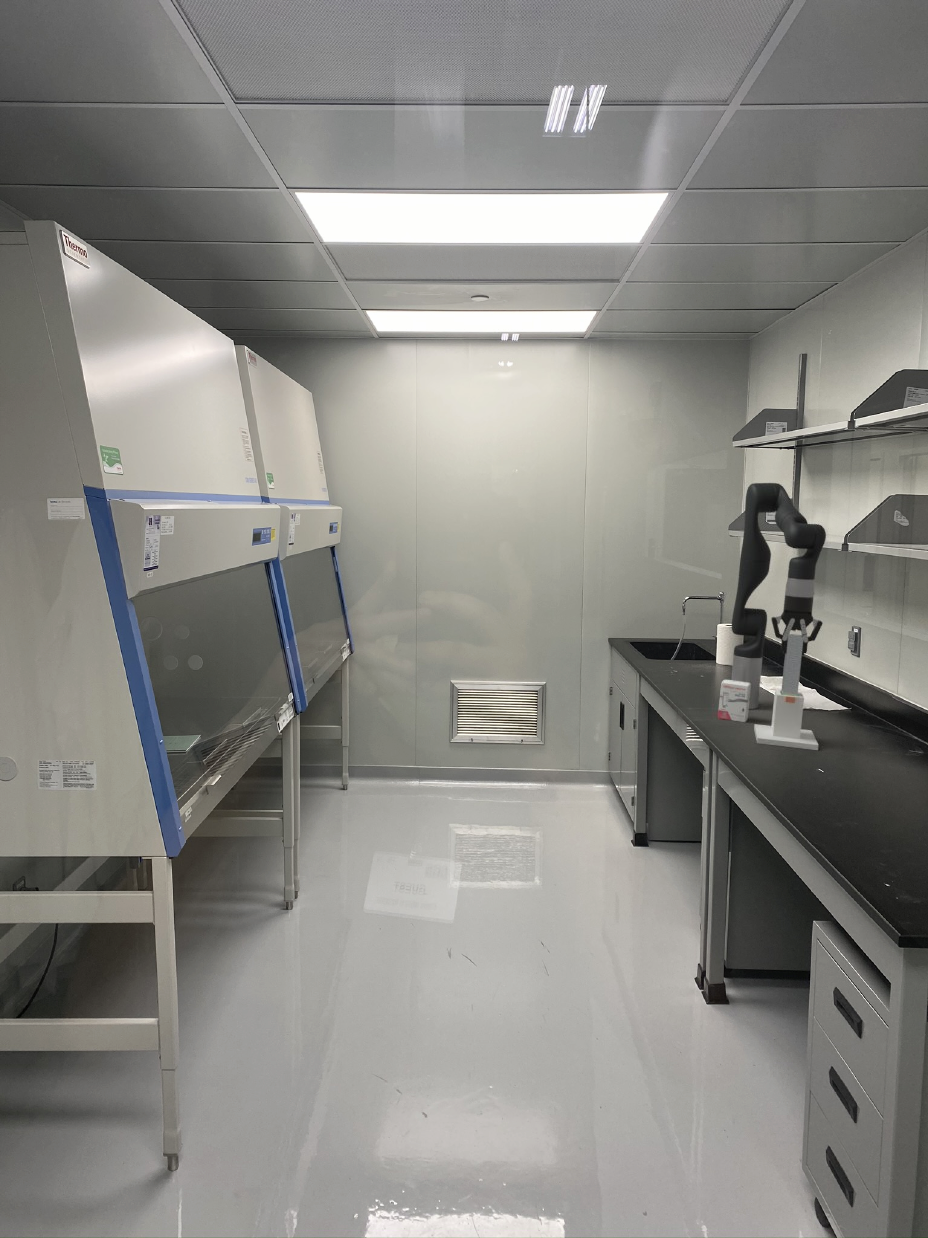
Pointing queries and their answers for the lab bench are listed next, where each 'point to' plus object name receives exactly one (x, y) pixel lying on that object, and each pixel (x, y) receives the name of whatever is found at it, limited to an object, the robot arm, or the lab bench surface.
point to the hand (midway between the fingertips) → (793, 653)
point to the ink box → (734, 700)
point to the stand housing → (786, 724)
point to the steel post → (792, 665)
